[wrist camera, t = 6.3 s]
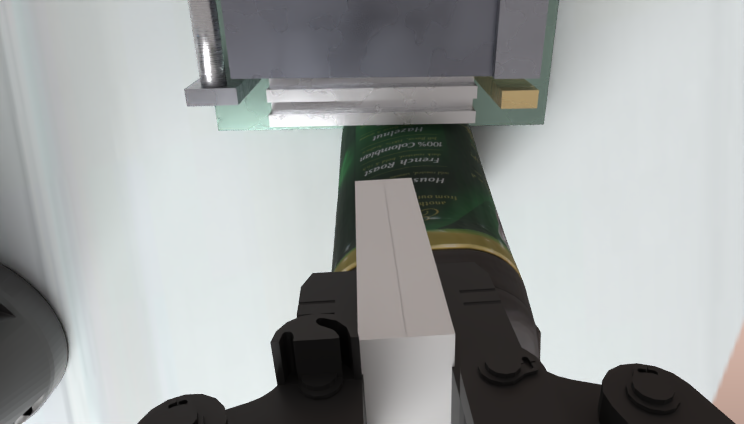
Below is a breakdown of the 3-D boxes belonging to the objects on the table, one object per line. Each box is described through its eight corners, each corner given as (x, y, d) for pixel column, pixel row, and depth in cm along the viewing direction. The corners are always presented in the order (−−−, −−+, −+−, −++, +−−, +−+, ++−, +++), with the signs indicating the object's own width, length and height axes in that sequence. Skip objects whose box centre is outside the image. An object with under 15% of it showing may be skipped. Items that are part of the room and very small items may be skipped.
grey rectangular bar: (236, 74, 26) (227, 81, 24) (225, -16, 24) (214, -15, 22) (531, 71, 25) (540, 78, 24) (541, -22, 23) (551, -21, 22)
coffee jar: (328, 96, 31) (291, 340, 16) (463, 72, 30) (562, 303, 15) (360, 227, 37) (355, 503, 21) (476, 210, 36) (557, 482, 21)
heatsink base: (222, 125, 32) (180, 174, 25) (190, -106, 27) (124, -129, 20) (538, 119, 32) (588, 166, 25) (566, -113, 27) (638, -140, 20)
